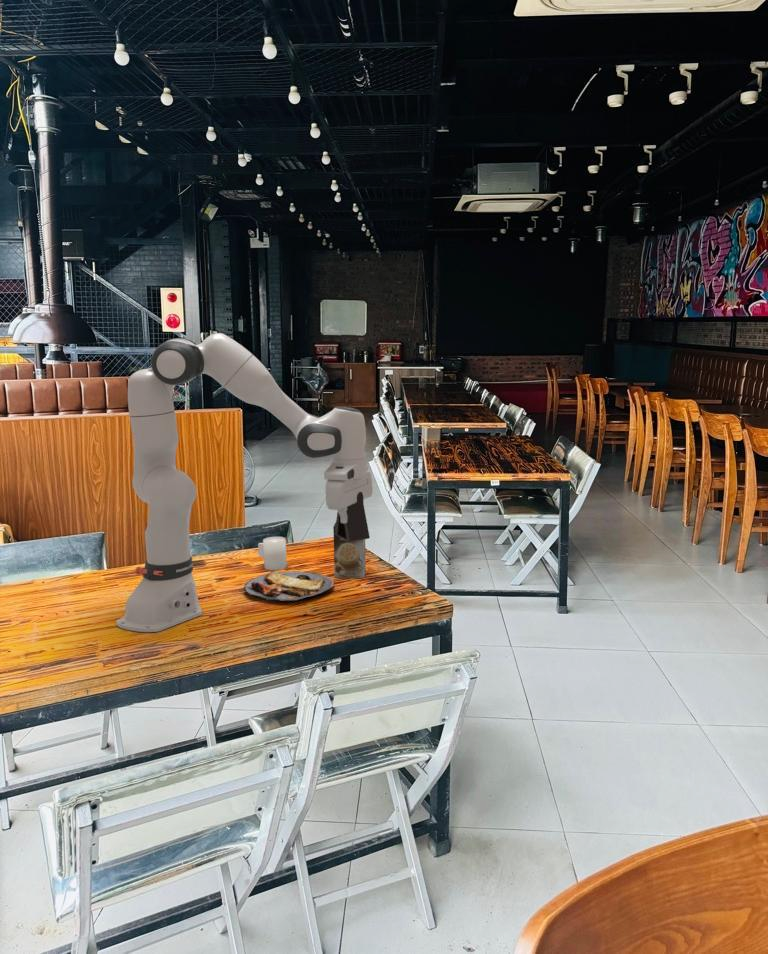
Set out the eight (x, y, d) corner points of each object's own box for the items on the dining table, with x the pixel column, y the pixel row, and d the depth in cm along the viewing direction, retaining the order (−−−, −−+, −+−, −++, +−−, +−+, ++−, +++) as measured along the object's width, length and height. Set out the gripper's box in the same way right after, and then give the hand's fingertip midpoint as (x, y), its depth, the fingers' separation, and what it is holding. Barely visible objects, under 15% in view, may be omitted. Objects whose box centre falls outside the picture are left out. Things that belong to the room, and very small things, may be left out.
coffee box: (333, 578, 227) (331, 526, 224) (337, 571, 233) (335, 520, 230) (364, 578, 226) (362, 526, 223) (366, 572, 232) (365, 521, 229)
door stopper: (369, 538, 200) (368, 494, 198) (349, 542, 197) (348, 496, 195) (354, 531, 208) (353, 488, 206) (334, 534, 205) (333, 491, 203)
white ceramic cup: (279, 571, 235) (277, 543, 233) (254, 568, 239) (252, 540, 237) (291, 565, 241) (289, 537, 240) (266, 562, 245) (265, 535, 243)
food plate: (227, 596, 212) (227, 584, 212) (276, 573, 233) (276, 562, 232) (303, 611, 201) (302, 598, 200) (347, 586, 221) (347, 575, 221)
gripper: (357, 462, 210) (358, 510, 212) (320, 474, 192) (322, 527, 194) (377, 463, 207) (378, 512, 210) (342, 475, 189) (344, 529, 192)
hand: (351, 519), depth 202 cm, fingers closed on door stopper, 6 cm apart
